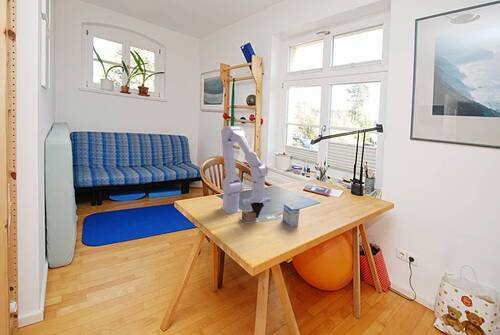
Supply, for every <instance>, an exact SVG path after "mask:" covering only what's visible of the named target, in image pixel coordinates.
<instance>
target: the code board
mask: <svg viewBox="0 0 500 335" xmlns="http://www.w3.org/2000/svg"><path fill="white" fill-rule="evenodd" d="M237 219H238V220H239V221H240V222H242V223H243V225H249V224H256V223H263V222H270V221H272V222H273V221H279V220H282V219H283V217H280V215H277V214H276V213H270V214H269V213H268V214H261V215H260V214H259V217H258V218H256V221H254V222H247V223H246V222H245V221H244V220H243V219H242V217H237Z"/></svg>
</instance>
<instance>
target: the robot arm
mask: <svg viewBox="0 0 500 335" xmlns="http://www.w3.org/2000/svg"><path fill="white" fill-rule="evenodd" d="M220 133H221V147H222V155H223V163H224V168H225V169H224V170H225V178H224V179H223V180H222V188H221V189H222V192H223V196H222V206H221V207H220V209H222V210H223V211H224V212H225V213H226V214H235V213H242V210H240V209H239V206H240V204H239V203H240V194H241V192H242V191H243V190H244V187H243V186H244V185H243V183H242V181H241V178H240V176H238V174H237V166H236V160H235V154H234V152H235V151H234V144H235V143H237V144H238V146H239V147H240V149H241V150H242V152H243V154H245V155H244V159H245V161H246V163H247V164H248V166H249V168H250V172H249V173H250V175H251V180H252V185H251V186H252V187H251V197H249V198H246V199H245V198H244V199H242V204H243V205H244V206H246V205H249V204H250V205H251V210H252V211H254V212H255V213H256V218H258V217H259V215H260V213H261V211H262V209H263V207H264V206H265V203H272V198H271V197H270V196H269V197H267V196H266V197H264V193H265V180H266V176H267V175H268V174H269V171H268V167H267V166H266V165H265V164H263V163H262V162H261V160H260V158H259V157H258V153H256V152H255V151H253V150H252V148H251V147H250V144H249V143H248V140H247V138H246V137H245V131H244V129H243V127H242V126H240V125H235V126H234V125H232V126H231V125H225V126H224V127H223V128H222V129H221V131H220Z"/></svg>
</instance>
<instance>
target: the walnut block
mask: <svg viewBox="0 0 500 335" xmlns="http://www.w3.org/2000/svg"><path fill="white" fill-rule="evenodd" d="M241 218H242V219H243V220H244V221H245V222H246V223H247V222H254V221H256V213H255V212H254V211H253V209H248V210H241Z"/></svg>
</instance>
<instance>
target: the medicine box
mask: <svg viewBox="0 0 500 335" xmlns="http://www.w3.org/2000/svg"><path fill="white" fill-rule="evenodd" d="M299 219H300V209H299V207H297V206H295V205H294V204H292V203H284V204H283V212H282V219H281V221H282V222H283V223H285V224H286V225H287V226H289V227H290V228H291V227H298V226H299V222H300V221H299Z"/></svg>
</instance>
